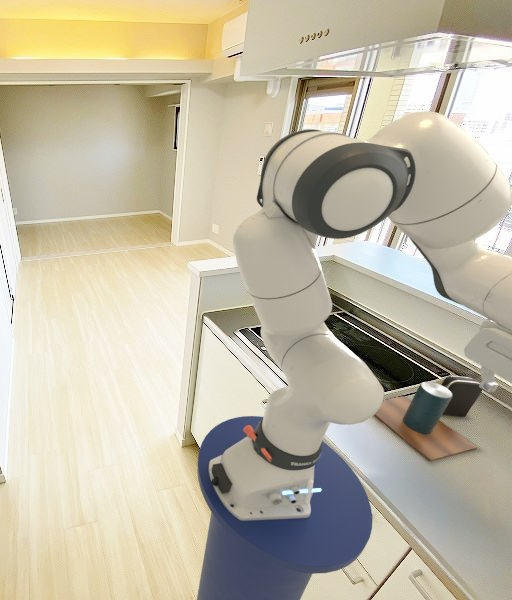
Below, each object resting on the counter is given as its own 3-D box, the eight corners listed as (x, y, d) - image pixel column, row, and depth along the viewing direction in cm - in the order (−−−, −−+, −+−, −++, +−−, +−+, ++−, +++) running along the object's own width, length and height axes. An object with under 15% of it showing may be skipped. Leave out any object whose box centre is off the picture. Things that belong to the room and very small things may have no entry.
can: (419, 436, 83) (439, 400, 77) (396, 418, 88) (414, 383, 82) (438, 431, 84) (460, 395, 78) (415, 414, 89) (433, 379, 83)
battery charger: (456, 407, 91) (476, 375, 86) (466, 418, 88) (487, 385, 83) (427, 404, 93) (444, 372, 87) (435, 414, 89) (454, 382, 84)
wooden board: (429, 461, 77) (430, 459, 77) (362, 406, 93) (363, 404, 93) (476, 448, 80) (477, 447, 79) (403, 397, 95) (404, 395, 95)
